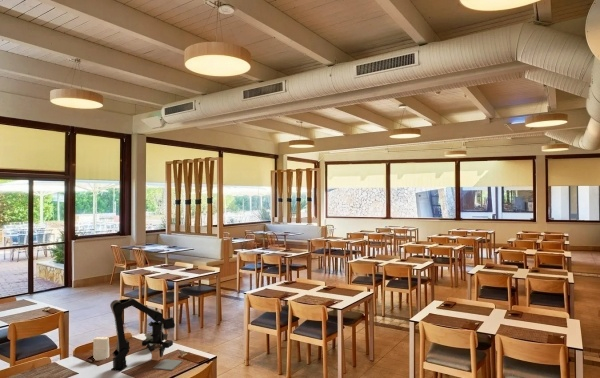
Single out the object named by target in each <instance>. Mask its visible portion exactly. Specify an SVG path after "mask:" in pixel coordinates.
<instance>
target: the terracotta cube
mask: <svg viewBox="0 0 600 378" xmlns="http://www.w3.org/2000/svg"><path fill="white" fill-rule="evenodd" d="M150 354H151V360H152V361H158V362H159V361H160V360H162V359H164V355H163V356H162V357H160V351H159V348H156V349H155V350H153V351H152V352H150Z"/></svg>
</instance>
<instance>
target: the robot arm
mask: <svg viewBox="0 0 600 378" xmlns="http://www.w3.org/2000/svg"><path fill="white" fill-rule="evenodd" d="M109 307H110V309H111V312H112V314H113V317H114V322H115V329H116V330H115V331H116V338H117V339H116V341H117V342H116V346H115V347H116V349H114V351H112V356H113V358H112V368H111V371H116V372H117V371H118V372H120V371H122V370H125V368H127V367H128V364H127V355H128V354H129V352H130V349H131V347H130V341H129V340H128V338H126V336H125V335H126V334H125V328H124V322H123V314H124V310H126V309H127V308H130V307H133V308H135V309H137V310H139V311H140V312H142V313H144V314H146V315H147V316H149V318H150V319H152V320H153V321H152V320H151V321H150V322H149V323H148V326H149V327H151V329H152V332H151V333H152V334H151V336H152V339H150V338H147V339H146V338H145V339H143V340H142V341H141V346H142V347H146V348H147V349H148V351H149V352H150V353H151V352H152V351H153V350H155V344H157V345H161V347H159V348H158V349H159V351H160V357H162V356H163V357H164V352H165V350H166V349H168V348H170V347H171V346H173V345H174V342H173V340H171V339H168V334H167V333H164V334H163V332H162V331H163V330H164V331H168V330H172V329H175V326H176V324H175V320H174V317H168V318H164V316H163V313H162V312H160V311H159V310H158V309H155V308H150V307H148V306H147V305H145V304H144V303H142V302H140V301H138V300H136V299H135V298H133V297H129V298H126V299H119V300H118V299H115V300H113V301H111V303H110V306H109ZM162 341H163V342H162Z"/></svg>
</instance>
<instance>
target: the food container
mask: <svg viewBox="0 0 600 378" xmlns="http://www.w3.org/2000/svg"><path fill="white" fill-rule="evenodd" d="M162 332H163V334H165V330H164V329H162ZM151 334H152V332H149V333H147V332H145V334H144V336H145V339H147V338H150V339H152V336H151ZM162 342H164V341H162ZM160 347H161V345H157V344H155V349H159V348H160Z"/></svg>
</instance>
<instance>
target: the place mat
mask: <svg viewBox="0 0 600 378" xmlns="http://www.w3.org/2000/svg"><path fill="white" fill-rule="evenodd" d="M183 362H184V361H183V360H178V359H168V358H164V359H163V360H161V361H160V362H159V363H157V364H156V365H155V366H153V369H155V370H164V371H173V370H174V369H176V368H177V367H178V366H179V365H181V364H182V363H183Z"/></svg>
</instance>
